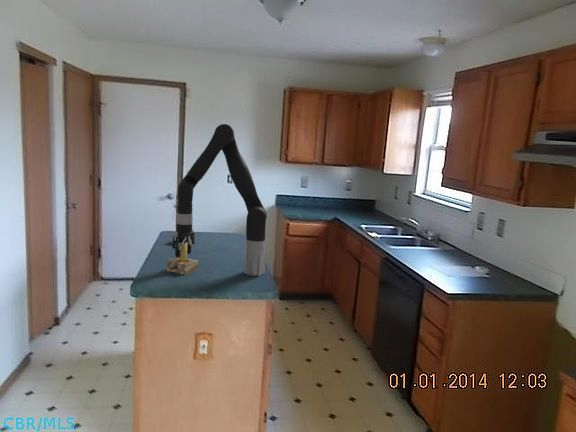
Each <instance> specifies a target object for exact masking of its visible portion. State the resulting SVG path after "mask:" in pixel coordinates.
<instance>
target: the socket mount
mask: <svg viewBox="0 0 576 432" xmlns="http://www.w3.org/2000/svg"><path fill="white" fill-rule="evenodd" d="M166 262H167V265H166V270H167V271H166V272H171V273H174V272H175V273H174V274H180V275H183V274H184V275H183V276H188V275H190V274H193V273H195V272H197V271H199V260H198V259H193V258H190V257H187V262H185V263H184V262H179V257H175V258H172V259H169V260H167V261H166ZM189 273H190V274H189Z"/></svg>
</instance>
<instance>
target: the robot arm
mask: <svg viewBox="0 0 576 432" xmlns="http://www.w3.org/2000/svg"><path fill="white" fill-rule="evenodd" d="M221 151H222V154H223V155H224V158H225V161H226V165H227V168H228V171H229V172H228V173H229V175H230V177H231V179H232V180H231V181H232V182H233V184H234V186H235V189H236V190H237V191H238V193H239V195H240V196H241V198H242V200H243V201H244V204H245V207H246V211H247V215H246V226H245V227H246V228H245V229H246V230H245V235H246V237H245V253H244V254H245V255H244V268H243V269H244V271H243V272H244V274H245V275H247V276H251V277H252V276H253V277H261V276H262V275H265V269H266V268H265V267H266V256H267V255H266V254H265V244H266V225H267V224H266V223H267V218H268V214H267V210H266V209H265V207H264V205H263V203H262V202H261V200H260V198H259V195H258V192H257V189H256V185H255V183H254V180H253V176H252V174H251V172H250V170H249V166H248V165H247V162H246V160H245V159H244V157H243V156H242V154H241V153H240V150H239V147H238V144H237V141H236V138H235V132H234V129H233V128H232V126H231V125H230V124H227V123H223V124H222V123H221V124H219V125H218V126H216V128H215V130H214V133H213V135H212V137H211V139H210V140H209V143H208V144H207V145H206V147H205V148H204V150H203V151H202V152H201V154H200V155H199V156H198V157H197V159H196V160H195V162H194V163H193V164H192V166H191V167H190V168H189V170H188V172H187V173H186V175H185V176H184V177H183V178H182V179H181V180H180V182H179V184H178V185H177V207H176V208H177V209H176V211H177V212H176V213H177V214H176V219H175V222H176V224H175V226H176V227H175V232H176V234H177V233H178V236H177V235H176V236H175V235H172V236H173V237H172V247H171V248H172V249H173V250H174V252H175V258H178V257H180V249H181V246H183V244H184V243H187V255H190V254H192V246H193V245H195V237H194V234H195V232H194V233H193V232H192V229H193V219H194V218H193V199H194V198H193V197H194V189H195V188H196V186H197V184H198V183H199V182H200V181H201V180H202V179H203V178H204V176H205V175H206V174H207V172H208V171H209V170H210V168H211V166H212V165H213V163H214V162H215V159H216V158H217V157H218V155H219V154H220V152H221ZM191 239H192V241H191ZM179 242H180V243H179Z"/></svg>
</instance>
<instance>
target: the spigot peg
mask: <svg viewBox="0 0 576 432" xmlns="http://www.w3.org/2000/svg"><path fill="white" fill-rule="evenodd" d="M187 258H188V254H187V243H184V244H183V246H181V249H180V257H179V262H184V263H185V262H187Z"/></svg>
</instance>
